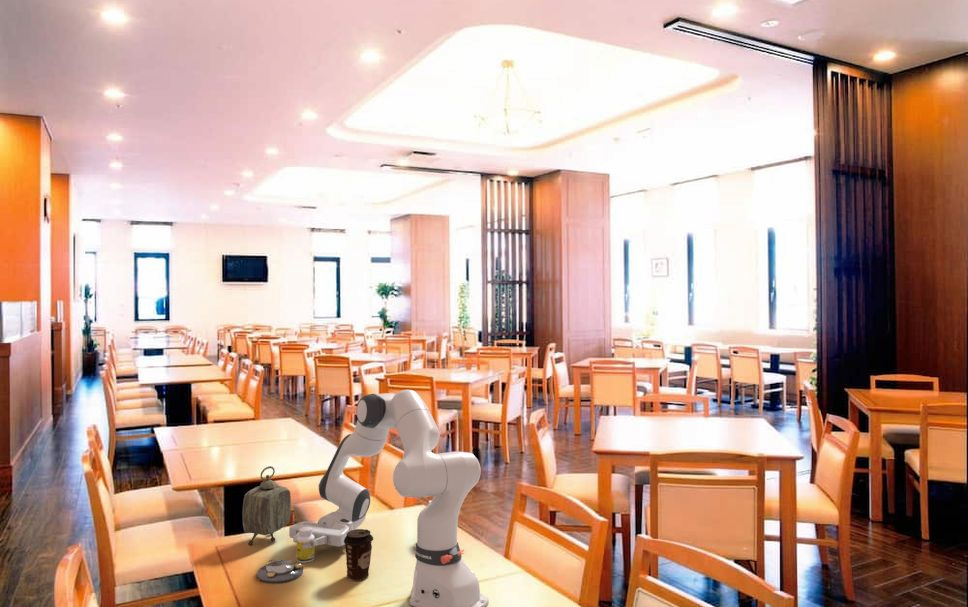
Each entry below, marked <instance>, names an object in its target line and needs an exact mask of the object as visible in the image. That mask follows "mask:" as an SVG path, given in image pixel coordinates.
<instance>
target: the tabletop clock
mask: <svg viewBox="0 0 968 607" xmlns="http://www.w3.org/2000/svg"><path fill="white" fill-rule="evenodd" d="M269 469H272V473H271V475H269V474H267V475H265V477H263V474H264V472H265V471H266V470H269ZM275 472H276V471H275V467H274V466H266V467H264V468H263V469H262V471H261V473H260V479H261V480H262V481H261V482H260V484H259V486H255V487H254V488H252V489H250V490H249V491H247V492H246V493H245V494H244V498H243V502H242V516H241V517H242V526H243V532H244V533H249V534H253V536H252V538H251V539H250V540H248V542H247V544H248V546H252V545H253V544H254V540H255V538H256V537H257V536H258V535H262V536H268V535H270V539H269V541H270V542H271V543H274V542H276V537H274V534H275V533H276V532H277V531H279V530H282V529H283V528H285V527H287V526H288V525H289V523H290V520H291V514H292V512H291V509H292V508H291V507H292V502H291V497H292V496H291V492H290V490H289V489H288V487H286V486H281V485H276V483H275V481H273V480H271V478H273V477H274V475H275Z"/></svg>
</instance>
